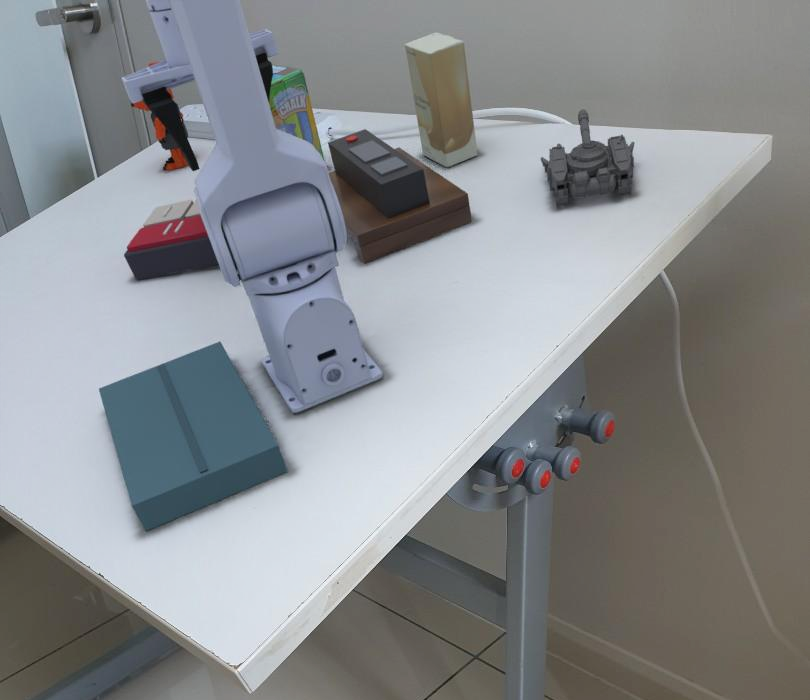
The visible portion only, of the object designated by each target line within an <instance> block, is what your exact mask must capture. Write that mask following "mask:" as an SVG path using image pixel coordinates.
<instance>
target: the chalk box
mask: <svg viewBox="0 0 810 700" xmlns="http://www.w3.org/2000/svg"><path fill="white" fill-rule="evenodd" d="M272 67H273V77H272V82H271V89H270V98H269V106H270V109H271V113H272V116H273V120H274V123H275V127H276V129H278V130H280V131H283V132H285V133H288V134H290V135H293V136H295V137H298V138H300V139H303V140H305V141H307V142H309V143H310V144H312V145H313V146H314V147H315V149H316V150H317V151H318V152H319V153H320V155H321V156H322V158H323V160H324V162H325V163H326V160H325V155H324V151H323V149H322V148H323V147H322V143H321V140H320V136H319V131H318V127H317V123H316V118H315V115H314V110H313V106H312V103H311V98H310V95H309V89H308V85H307V81H306V77H305V73H304V72H303V70H302V69H300V68H297V67H291V66H284V65H277V64H272Z"/></svg>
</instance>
